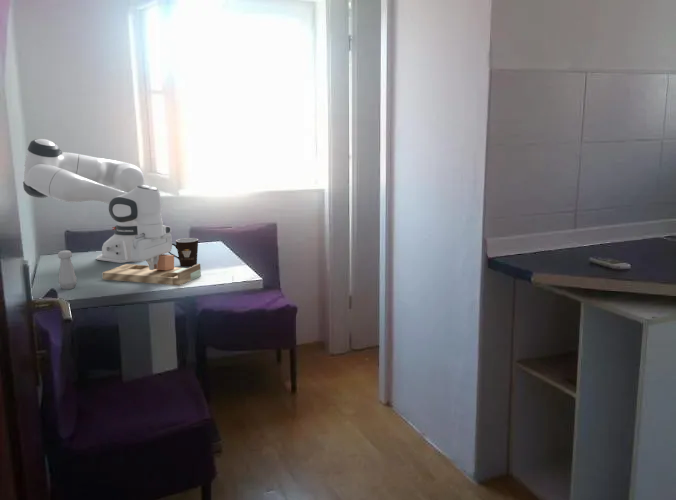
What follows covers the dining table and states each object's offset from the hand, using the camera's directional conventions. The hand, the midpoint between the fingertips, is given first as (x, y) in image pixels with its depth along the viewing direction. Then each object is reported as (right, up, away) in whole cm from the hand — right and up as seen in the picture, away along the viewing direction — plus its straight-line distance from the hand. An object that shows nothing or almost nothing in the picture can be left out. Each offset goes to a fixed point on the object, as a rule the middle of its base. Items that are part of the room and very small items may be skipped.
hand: (153, 269), depth 228 cm
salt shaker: (-27, -6, -9) cm, 29 cm away
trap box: (-1, -3, +3) cm, 5 cm away
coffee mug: (+6, +1, +22) cm, 23 cm away
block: (+3, 0, +4) cm, 5 cm away
